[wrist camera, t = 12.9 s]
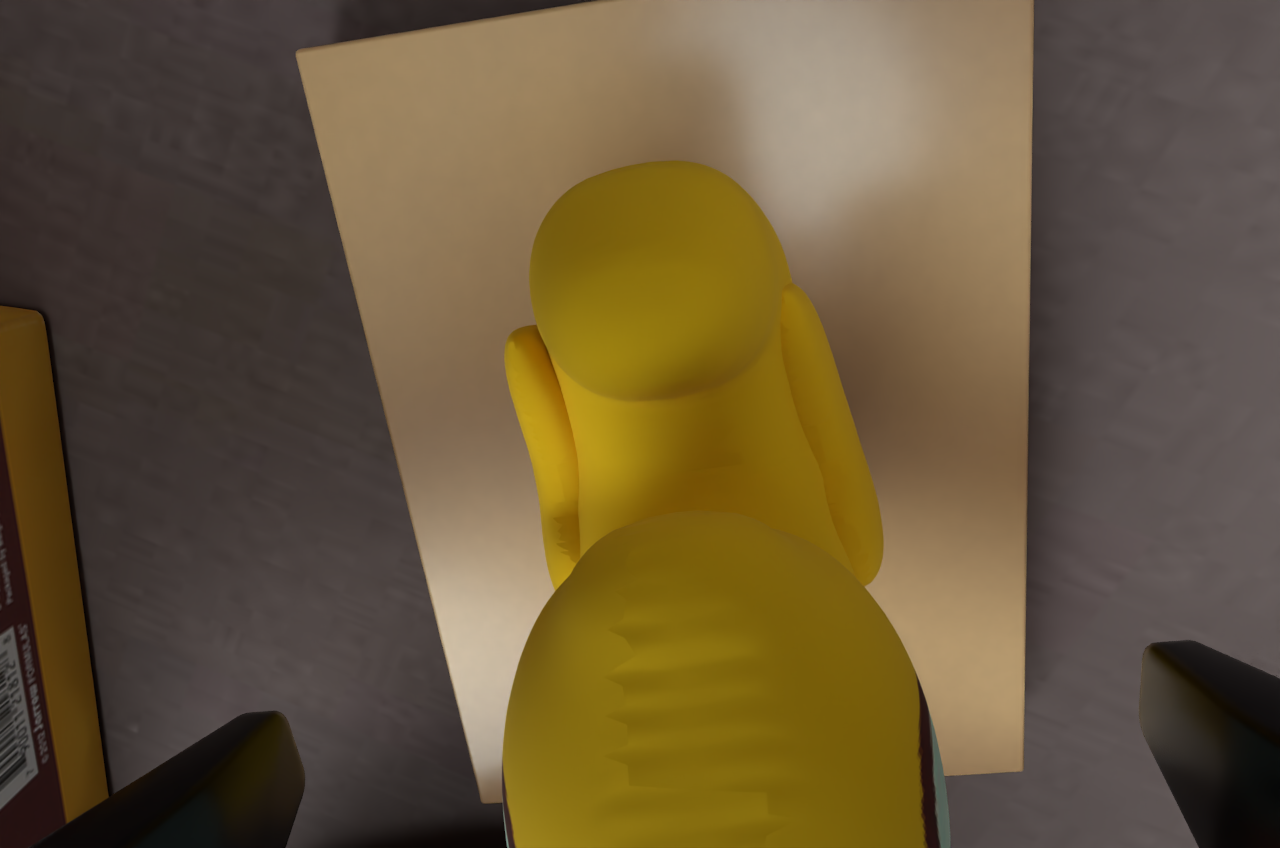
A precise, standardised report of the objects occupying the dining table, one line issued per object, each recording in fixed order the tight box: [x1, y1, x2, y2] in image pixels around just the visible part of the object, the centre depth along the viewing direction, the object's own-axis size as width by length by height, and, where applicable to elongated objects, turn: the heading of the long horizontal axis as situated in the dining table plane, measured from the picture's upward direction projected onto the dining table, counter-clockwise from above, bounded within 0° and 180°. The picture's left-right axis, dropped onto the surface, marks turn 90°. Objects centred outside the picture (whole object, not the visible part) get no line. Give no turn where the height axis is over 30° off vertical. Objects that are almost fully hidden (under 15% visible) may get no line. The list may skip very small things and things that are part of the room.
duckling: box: [502, 160, 951, 848], centre depth 11 cm, size 11×5×10 cm, turn 11°
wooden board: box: [296, 0, 1034, 804], centre depth 17 cm, size 16×12×2 cm
